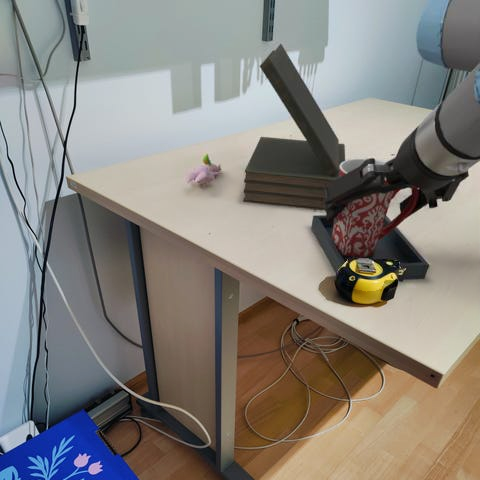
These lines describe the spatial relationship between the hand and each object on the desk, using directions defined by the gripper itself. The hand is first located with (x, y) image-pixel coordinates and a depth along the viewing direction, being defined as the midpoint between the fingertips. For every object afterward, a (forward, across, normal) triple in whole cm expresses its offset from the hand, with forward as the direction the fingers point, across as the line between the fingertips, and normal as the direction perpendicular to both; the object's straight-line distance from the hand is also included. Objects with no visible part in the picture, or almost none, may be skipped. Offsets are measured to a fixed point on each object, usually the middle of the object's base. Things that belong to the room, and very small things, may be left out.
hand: (365, 212), depth 70 cm
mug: (+2, 0, -6) cm, 6 cm away
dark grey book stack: (+23, -5, +14) cm, 28 cm away
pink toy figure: (+25, -25, +16) cm, 38 cm away
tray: (+2, 0, -6) cm, 7 cm away
